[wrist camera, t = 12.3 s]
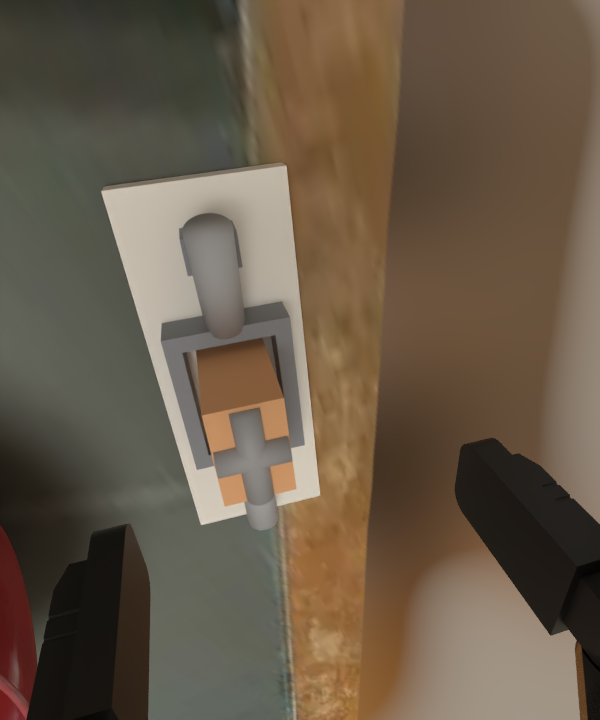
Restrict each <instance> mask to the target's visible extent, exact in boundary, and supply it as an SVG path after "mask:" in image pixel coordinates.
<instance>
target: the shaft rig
mask: <svg viewBox="0 0 600 720" xmlns="http://www.w3.org/2000/svg"><path fill="white" fill-rule="evenodd" d="M101 192H102V196H103V199H104V202H105V206H106V209H107V212H108V216H109V219H110V222H111V226H112V229H113V232H114V236H115V239H116V242H117V246H118V249H119V252H120V256H121V259H122V262H123V266H124V269H125V272H126V276H127V279H128V282H129V286H130V289H131V293H132V296H133V299H134V303H135V306H136V309H137V313H138V316H139V319H140V323H141V326H142V329H143V333H144V336H145V339H146V343H147V346H148V349H149V353H150V356H151V359H152V363H153V366H154V369H155V373H156V376H157V379H158V383H159V386H160V389H161V393H162V396H163V399H164V403H165V406H166V409H167V413H168V416H169V419H170V423H171V426H172V429H173V433H174V436H175V439H176V443H177V446H178V449H179V453H180V456H181V459H182V463H183V466H184V469H185V473H186V476H187V479H188V483H189V486H190V490H191V493H192V496H193V500H194V503H195V506H196V510H197V513H198V516H199V520H200V523H201V525H204V524H208V523H212V522H216V521H220V520H224V519H228V518H232V517H236V516H240V515H244V514H247V517H248V522H249V524H250V526H251V527H252V528H254V529H256V530H267V529H269V528H271V527H273V526H274V525H275V524H276V523H277V521H278V518H279V514H278V508H277V506H280V505H284V504H288V503H292V502H296V501H300V500H304V499H308V498H312V497H316V496H320V489H319V479H318V470H317V460H316V450H315V440H314V430H313V421H312V411H311V401H310V391H309V381H308V372H307V362H306V352H305V342H304V333H303V323H302V313H301V303H300V293H299V284H298V274H297V264H296V254H295V244H294V235H293V225H292V215H291V205H290V195H289V186H288V176H287V166H286V165H285V164H283V163H282V162H280V163H272V164H265V165H258V166H250V167H243V168H236V169H228V170H221V171H214V172H206V173H199V174H192V175H184V176H177V177H169V178H162V179H155V180H147V181H140V182H133V183H125V184H118V185H111V186H105V187H104V188H103V189H102V190H101ZM257 338H262V339H263V341H264V344H265V347H266V350H267V352H268V355H269V358H270V361H271V363H272V366H273V369H274V372H275V374H276V377H277V380H278V383H279V385H280V388H281V391H282V394H283V396H284V401H285V408H286V416H287V423H288V430H289V438H290V445H291V452H292V460H293V467H294V474H295V481H296V489H295V490H291V491H287V492H283V493H279V494H275V495H274V497H273V499H272V500H271V501H270V502H269V503H267V504H265V505H261V506H256V505H252V504H250V503H249V502H248V501H246V502H242V503H238V504H234V505H230V506H226V507H225V506H224V502H223V498H222V494H221V490H220V486H219V482H218V478H217V474H216V471H215V467H214V463H213V459H212V455H211V451H210V447H209V443H208V439H207V435H206V431H205V427H204V423H203V419H202V415H201V403H200V391H199V380H198V368H197V356H196V350H200V349H205V348H211V347H216V346H221V345H226V344H231V343H237V342H242V341H247V340H252V339H257Z"/></svg>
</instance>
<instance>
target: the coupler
mask: <svg viewBox="0 0 600 720" xmlns="http://www.w3.org/2000/svg"><path fill="white" fill-rule="evenodd" d="M196 356H197V368H198V380H199V391H200V403H201V415H202V419H203V423H204V427H205V431H206V435H207V439H208V443H209V447H210V451H211V455H212V459H213V463H214V467H215V471H216V474H217V478H218V482H219V486H220V490H221V494H222V498H223V502H224V506H225V507H226V506H230V505H234V504H238V503H242V502H246V501H248V502H249V503H250V504H252V505H256V506H261V505H265V504H267V503H269V502H270V501H271V500H272V499H273V497H274V495H275V494H279V493H283V492H287V491H291V490H295V489H296V481H295V474H294V467H293V460H292V452H291V445H290V438H289V430H288V423H287V416H286V408H285V401H284V396H283V394H282V391H281V388H280V385H279V383H278V380H277V377H276V374H275V372H274V369H273V366H272V363H271V361H270V358H269V355H268V352H267V350H266V347H265V344H264V341H263V339H262V338H257V339H252V340H247V341H242V342H237V343H231V344H226V345H221V346H216V347H211V348H205V349H200V350H196Z"/></svg>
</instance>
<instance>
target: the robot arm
mask: <svg viewBox="0 0 600 720" xmlns="http://www.w3.org/2000/svg"><path fill="white" fill-rule="evenodd" d="M455 495H456V499H457V502H458V505H459V507H460V509H461V511H462V512H463V514H464V515H465V517H466V518H467V520H468V521H469V522H470V524H471V525H472V527H473V528H474V529H475V531H476V532H477V534H478V535H479V536H480V538H481V539H482V541H483V542H484V543H485V545H486V546H487V547H488V549H489V550H490V552H491V553H492V554H493V556H494V557H495V558H496V560H497V561H498V563H499V564H500V566H501V567H502V568H503V570H504V571H505V573H506V574H507V575H508V577H509V578H510V580H511V581H512V582H513V584H514V585H515V587H516V588H517V589H518V591H519V592H520V594H521V595H522V596H523V597H524V599H525V601H526V602H527V603H528V605H529V606H530V607H531V609H532V610H533V612H534V613H535V615H536V616H537V617H538V619H539V620H540V622H541V623H542V624H543V626H544V627H545V628H546V629H547V631H548V633H549V634H550V635H554V634H557V633H560V632H563V631H566V630H570V632H571V633H572V634H573V636H574V637H575V638H576V640H577V641H576V645H575V656H576V669H577V681H578V682H577V683H578V696H579V709H580V720H600V524H599V523H598V522H597V521H596V520H595V519H594V518H593V517H592V516H591V515H589V513H587V512H586V511H585V510H584V509H583V508H582V507H581V506H580V505H579V504H578V503H577V502H576V501H575V500H574V499H571V498H570V495H569V494H568V493H567V492H566V491H565V490H564V489H563V488H562V487H561V486H560V485H557V483H556V481H555V480H554V479H553V478H552V477H551V476H550V475H549V474H548V473H547V472H546V471H545V470H544V469H543V468H542V467H541V466H540V465H538V464H536V463H535V462H532V461H531V460H529V459H528V458H526V457H524V456H522V455H520V454H514V455H512V454H511V453H510V452H509V451H508V450H507V449H506V448H505V447H504V446H503V445H502V444H501V443H500V442H499V441H498V440H496V439H494V438H489V439H484V440H480V441H476V442H471V443H467V444H464V445H463V446H462V447H461V450H460V456H459V463H458V469H457V476H456V483H455ZM48 616H49V621H47V624H46V629H45V634H44V643H43V644H42V648H41V653H40V657H39V662H38V667H37V671H36V676H35V681H34V686H33V690H32V695H31V700H30V704H29V709H28V714H27V718H26V720H148V692H149V640H150V582H149V575H148V570H147V567H146V564H145V561H144V558H143V556H142V553H141V550H140V547H139V545H138V542H137V539H136V537H135V534H134V531H133V529H132V527H131V525H130V524H125V525H121V526H116V527H112V528H108V529H104V530H100V531H96V532H93V533H92V536H91V539H90V545H89V552H88V558H87V560H85V561H81V562H77V563H73V564H69V566H68V567H67V569H66V571H65V572H64V574H63V575H62V577H61V579H60V580H59V582H58V584H57V585H56V587H55V589H54V591H53V596H52V601H51V606H50V610H49V615H48Z"/></svg>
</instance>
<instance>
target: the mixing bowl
mask: <svg viewBox="0 0 600 720" xmlns="http://www.w3.org/2000/svg"><path fill="white" fill-rule="evenodd" d="M36 671H37V654H36V646H35V637H34V629H33V622H32V615H31V611H30V606H29V601H28V597H27V593H26V588H25V584H24V580H23V577H22V573H21V570H20V567H19V563H18V560H17V557H16V554H15V552H14V549H13V547H12V545H11V542H10V540H9V538H8V536H7V534H6V533H5V531H4V530H3V528H2V526H1V525H0V720H26V718H27V714H28V709H29V704H30V700H31V695H32V690H33V686H34V681H35V676H36Z"/></svg>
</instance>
